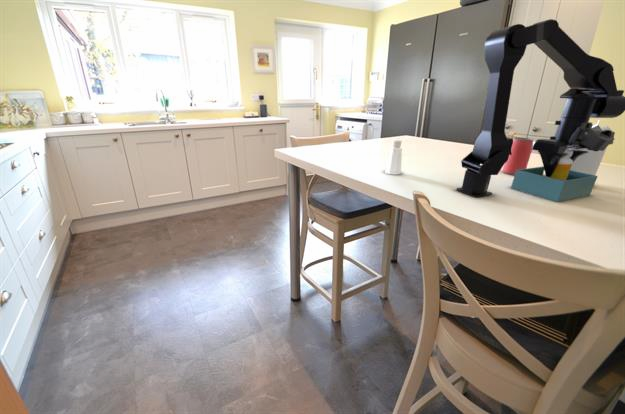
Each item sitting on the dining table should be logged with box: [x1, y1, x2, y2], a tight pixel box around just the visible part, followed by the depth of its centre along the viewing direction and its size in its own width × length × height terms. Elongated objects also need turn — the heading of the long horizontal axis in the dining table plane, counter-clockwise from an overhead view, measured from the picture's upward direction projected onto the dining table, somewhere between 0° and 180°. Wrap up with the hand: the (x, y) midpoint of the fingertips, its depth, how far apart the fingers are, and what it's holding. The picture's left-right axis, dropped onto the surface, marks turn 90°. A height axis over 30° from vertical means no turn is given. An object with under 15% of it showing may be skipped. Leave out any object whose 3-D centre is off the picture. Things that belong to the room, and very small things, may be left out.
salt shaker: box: [384, 139, 403, 176], centre depth 95 cm, size 5×5×11 cm
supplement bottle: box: [542, 150, 573, 181], centre depth 78 cm, size 5×5×10 cm
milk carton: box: [570, 119, 613, 176], centre depth 85 cm, size 7×7×19 cm
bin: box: [510, 165, 598, 203], centre depth 80 cm, size 15×12×6 cm
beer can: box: [502, 136, 534, 176], centre depth 97 cm, size 7×7×12 cm
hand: (554, 175), depth 79 cm, fingers closed on supplement bottle, 5 cm apart
